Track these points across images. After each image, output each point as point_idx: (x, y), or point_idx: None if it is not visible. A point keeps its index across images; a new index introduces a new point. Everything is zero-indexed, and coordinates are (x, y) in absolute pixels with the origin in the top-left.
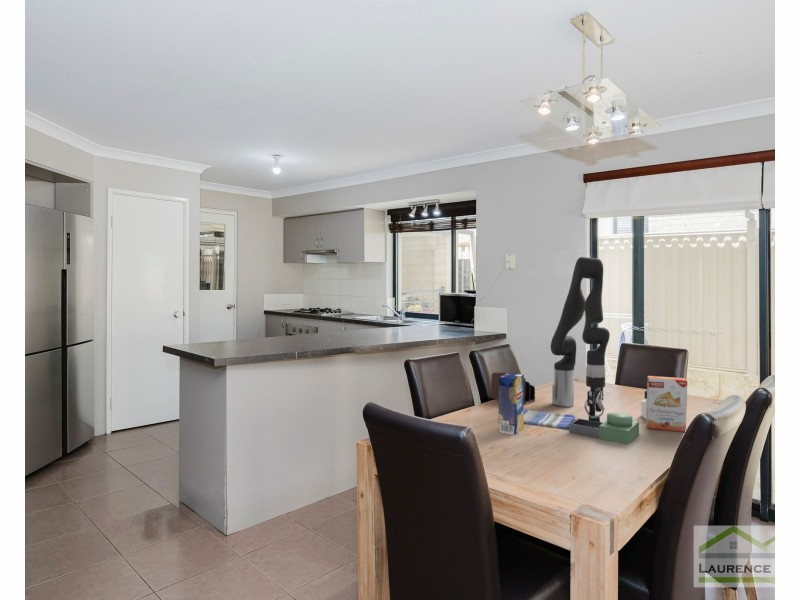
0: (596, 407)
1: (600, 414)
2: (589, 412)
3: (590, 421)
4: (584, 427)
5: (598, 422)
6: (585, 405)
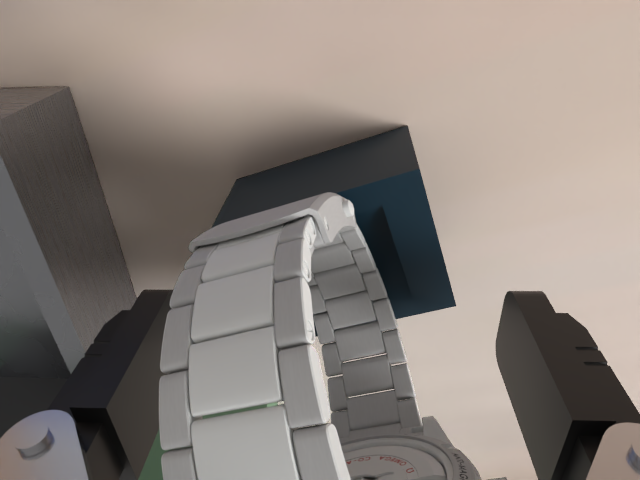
0: (529, 348)
1: (369, 363)
2: (126, 318)
3: (43, 302)
4: None
5: None
6: (194, 287)
